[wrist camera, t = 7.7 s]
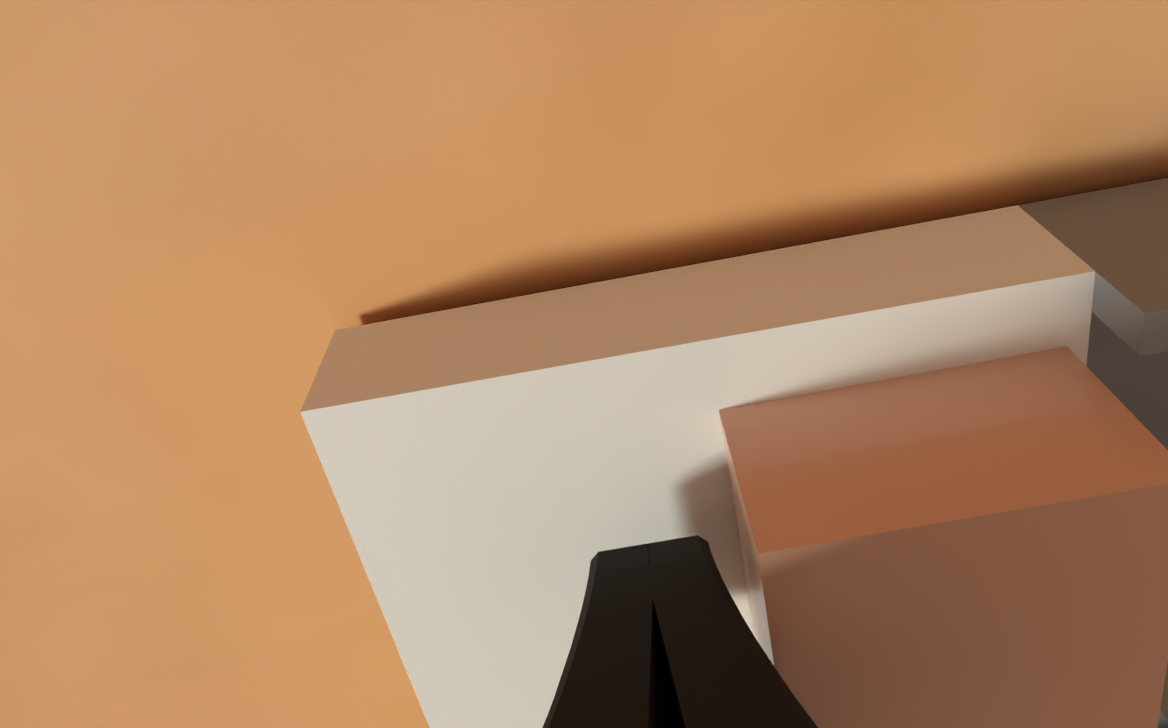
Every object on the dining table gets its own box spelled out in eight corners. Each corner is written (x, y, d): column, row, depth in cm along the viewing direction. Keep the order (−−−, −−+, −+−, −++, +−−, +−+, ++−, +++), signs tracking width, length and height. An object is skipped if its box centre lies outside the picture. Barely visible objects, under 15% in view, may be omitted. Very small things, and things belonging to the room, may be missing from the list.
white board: (992, 757, 17) (1039, 861, 16) (516, 825, 18) (513, 931, 16) (1017, 205, 12) (1095, 271, 10) (335, 330, 13) (300, 411, 11)
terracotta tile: (1050, 600, 13) (1152, 760, 11) (755, 648, 13) (795, 813, 11) (1067, 345, 11) (1194, 478, 9) (718, 410, 11) (758, 553, 9)
